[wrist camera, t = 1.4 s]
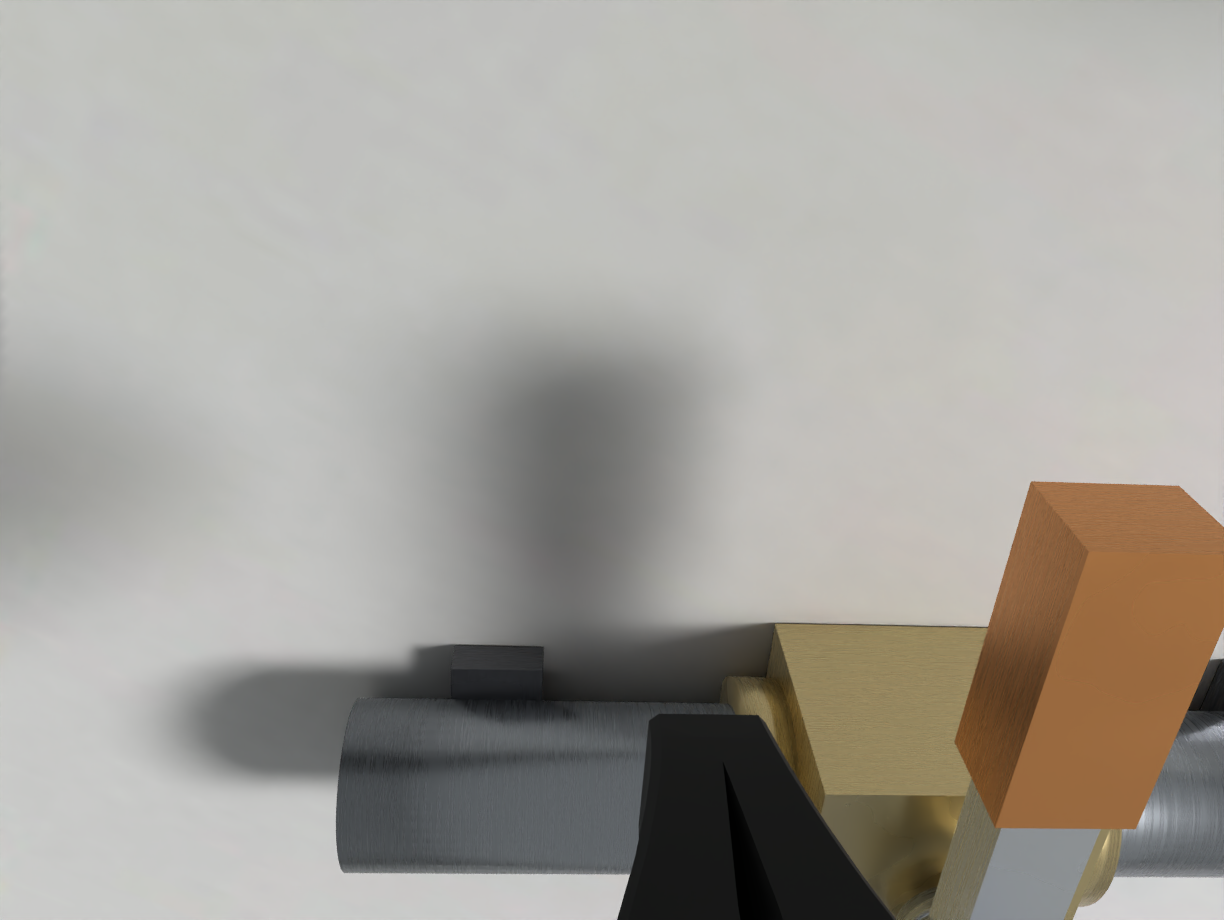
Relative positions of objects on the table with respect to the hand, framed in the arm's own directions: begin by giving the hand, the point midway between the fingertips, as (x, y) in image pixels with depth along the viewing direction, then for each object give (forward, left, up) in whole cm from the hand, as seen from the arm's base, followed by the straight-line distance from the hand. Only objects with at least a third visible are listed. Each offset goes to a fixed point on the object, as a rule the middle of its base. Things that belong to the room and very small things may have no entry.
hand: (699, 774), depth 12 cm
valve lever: (-3, -6, -4) cm, 8 cm away
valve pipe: (-8, -6, -9) cm, 13 cm away
